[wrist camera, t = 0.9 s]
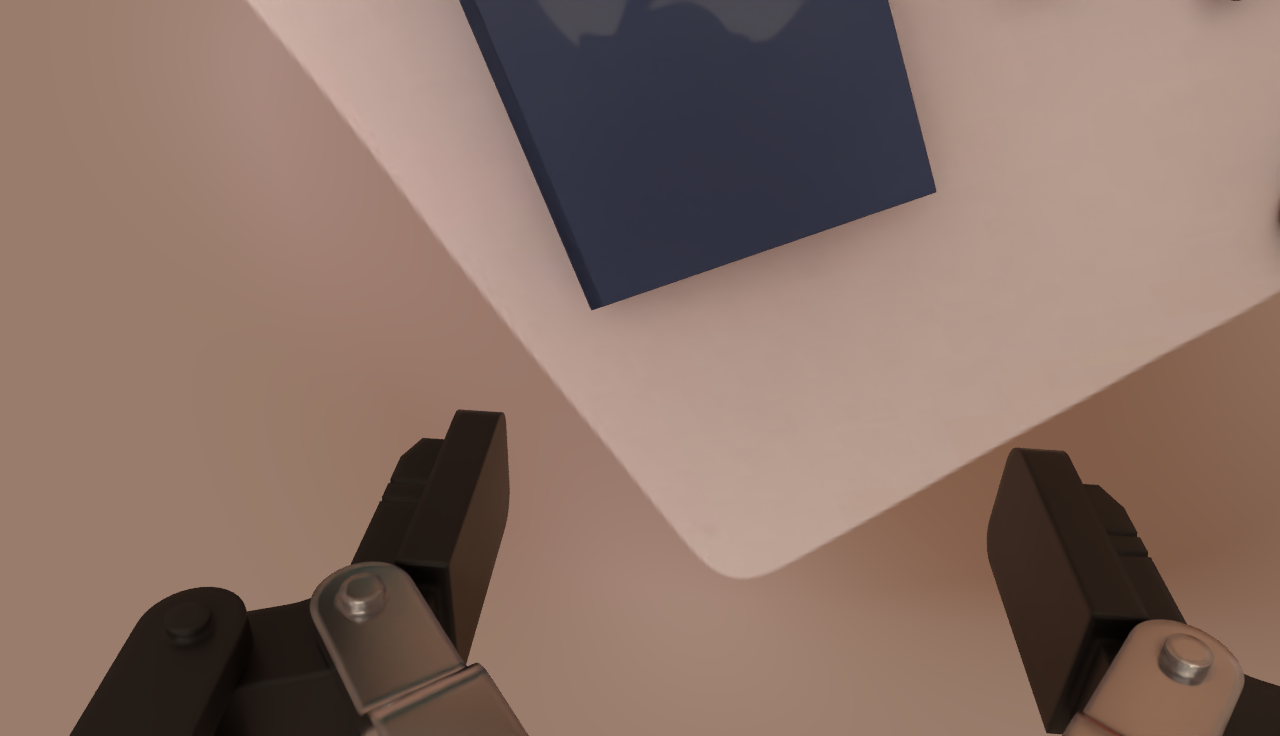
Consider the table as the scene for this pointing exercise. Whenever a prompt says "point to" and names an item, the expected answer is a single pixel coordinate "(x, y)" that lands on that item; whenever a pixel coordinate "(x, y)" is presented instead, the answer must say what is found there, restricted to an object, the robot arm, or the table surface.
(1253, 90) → the table surface
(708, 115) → the book
